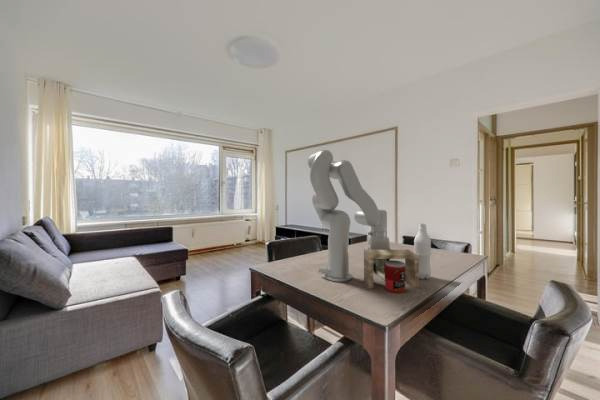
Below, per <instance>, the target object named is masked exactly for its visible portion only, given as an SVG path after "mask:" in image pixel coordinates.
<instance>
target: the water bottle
mask: <svg viewBox="0 0 600 400" xmlns="http://www.w3.org/2000/svg"><path fill="white" fill-rule="evenodd" d="M417 229H418V232H417V233H416V234H415V235H416V236H415V237H414V240H413V243H414V244H413V246H414V248H413V250H414V251H413V252H414V253H416V254H418V255H419V280H425V279H427V280H428V279H429V278H431V275H432V268H431V255H432V241H431V238H430V235H429V234H428V232H427V223H419V224H418V228H417Z"/></svg>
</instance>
